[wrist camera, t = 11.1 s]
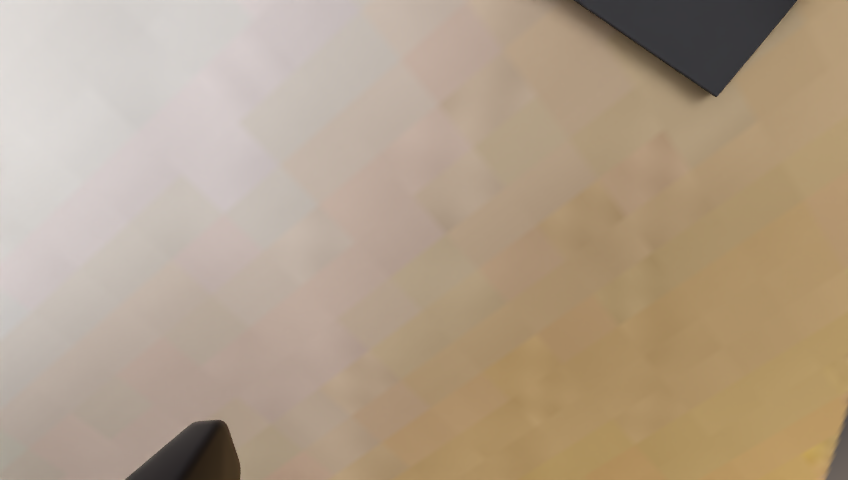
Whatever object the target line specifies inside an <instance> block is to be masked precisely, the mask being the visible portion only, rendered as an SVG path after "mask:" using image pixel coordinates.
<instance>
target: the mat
mask: <svg viewBox="0 0 848 480" xmlns="http://www.w3.org/2000/svg"><path fill="white" fill-rule="evenodd" d="M574 1H576V2H577V3H579V4H580V5H581V6H583V7H584V8H586V9H587V10H589V11H590V12H592V13H593V14H595V15H596V16H598V17H599V18H600V19H602V20H603V21H605V22H606V23H608V24H609V25H611V26H612V27H614V28H615V29H617V30H618V31H619V32H621V33H622V34H624V35H625V36H627V37H628V38H630V39H631V40H633V41H634V42H636V43H637V44H638V45H640V46H641V47H643V48H644V49H646V50H647V51H649V52H650V53H652V54H653V55H655V56H656V57H658V58H659V59H660V60H662V61H663V62H665V63H666V64H668V65H669V66H671V67H672V68H674V69H675V70H677V71H678V72H679V73H681V74H682V75H684V76H685V77H687V78H688V79H690V80H691V81H693V82H694V83H696V84H697V85H698V86H700V87H701V88H703V89H704V90H706V91H707V92H709V93H710V94H712V95H713V96H715V97H717V96H718V95H719V94H720V92H721V91H722V90H723V89H724V88H725V86H726V85H727V84H728V83H729V82H730V80H731V79H732V78H733V77H734V76H735V74H736V73H737V72H738V71H739V70H740V68H741V67H742V66H743V65H744V64H745V63H746V61H747V60H748V59H749V58H750V57H751V55H752V54H753V53H754V52H755V51H756V49H757V48H758V47H759V46H760V45H761V43H762V42H763V41H764V40H765V39H766V37H767V36H768V35H769V34H770V33H771V31H772V30H773V29H774V28H775V27H776V25H777V24H778V23H779V22H780V21H781V19H782V18H783V17H784V16H785V15H786V13H787V12H788V11H789V10H790V9H791V7H792V6H793V5H794V4H795V3H796V1H797V0H574Z"/></svg>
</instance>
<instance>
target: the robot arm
mask: <svg viewBox="0 0 848 480" xmlns="http://www.w3.org/2000/svg"><path fill="white" fill-rule="evenodd" d="M240 473H241V472H240V462H239V459H238V456H237V453H236V450H235V447H234V444H233V441H232V438H231V434H230V431H229V429H228V426H227V424H226V423H225V422H224V421H221V420H209V421H198V422H194V423H192V424H191V425H189V426H188V427H187V428H186V429H184V430H183V431H182V432H181V433H180V434H178V435H177V436H176V437H175V438H174V439H173V440H171V441H170V442H169V443H168V444H167V445H165V446H164V447H163V448H162V449H161V450H160V451H158V452H157V453H156V454H155V455H154V456H152V457H151V458H150V459H149V460H148V461H146V462H145V463H144V464H143V465H142V466H141V467H139V468H138V469H137V470H136V471H135V472H133V473H132V474H131V475H130V476H129V477H128V478H126V479H125V480H240Z"/></svg>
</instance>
